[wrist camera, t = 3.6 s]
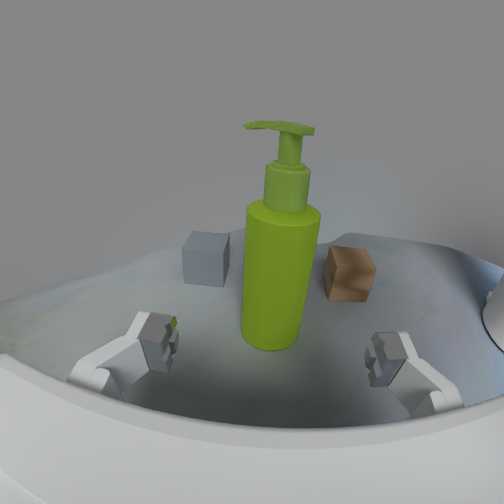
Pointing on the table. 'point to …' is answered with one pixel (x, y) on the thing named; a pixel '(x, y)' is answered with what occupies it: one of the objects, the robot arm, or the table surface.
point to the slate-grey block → (206, 258)
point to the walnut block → (348, 274)
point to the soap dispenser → (279, 245)
